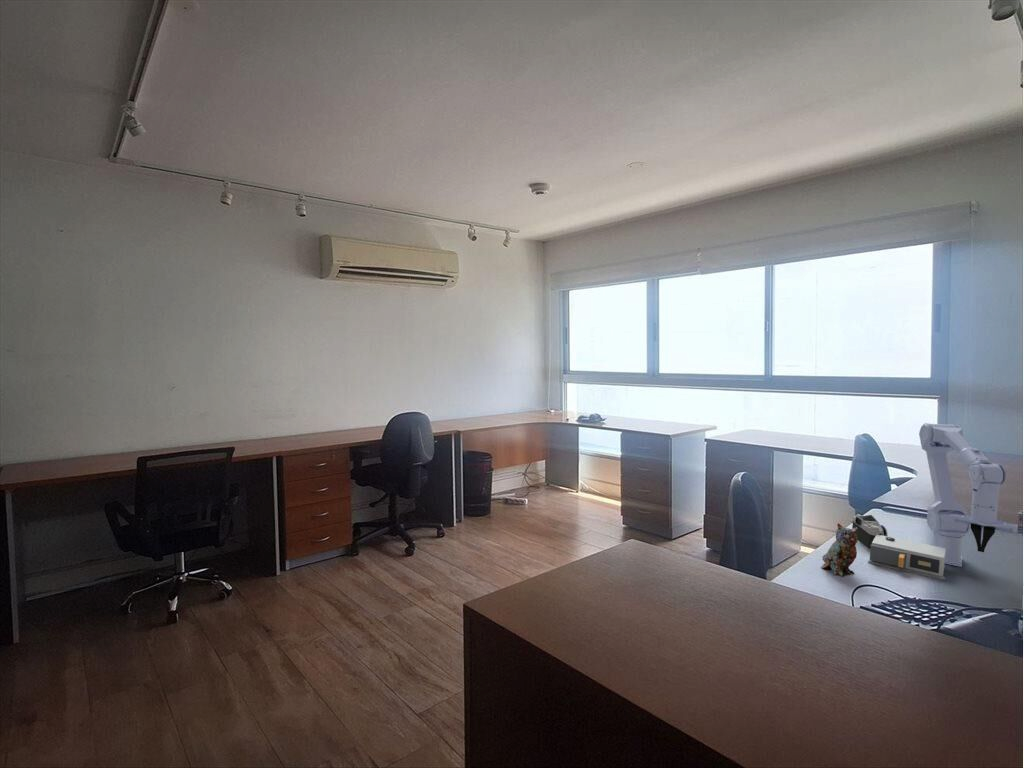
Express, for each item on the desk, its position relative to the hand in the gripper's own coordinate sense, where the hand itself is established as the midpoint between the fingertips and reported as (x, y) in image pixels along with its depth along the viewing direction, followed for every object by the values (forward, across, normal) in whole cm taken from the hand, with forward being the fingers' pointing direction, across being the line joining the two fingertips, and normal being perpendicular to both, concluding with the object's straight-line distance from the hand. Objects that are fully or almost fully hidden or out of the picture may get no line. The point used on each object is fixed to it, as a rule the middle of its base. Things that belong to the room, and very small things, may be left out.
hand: (980, 550), depth 157 cm
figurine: (+10, -32, -19) cm, 38 cm away
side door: (+9, -21, -6) cm, 24 cm away
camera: (+10, -28, +15) cm, 33 cm away
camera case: (+9, -17, +1) cm, 19 cm away
